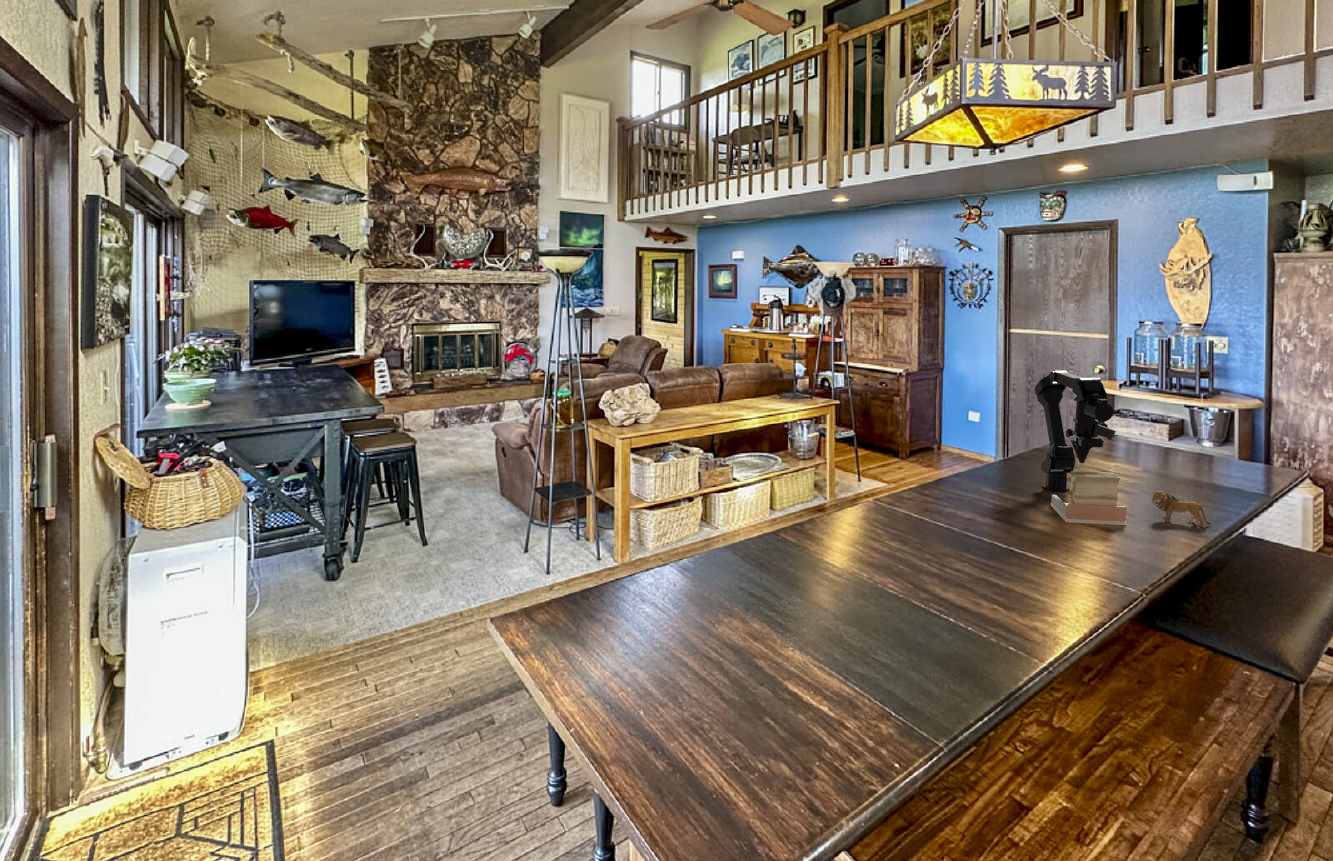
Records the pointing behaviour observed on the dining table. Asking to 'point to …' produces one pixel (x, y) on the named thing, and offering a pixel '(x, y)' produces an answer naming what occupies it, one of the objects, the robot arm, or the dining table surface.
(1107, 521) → the box
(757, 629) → the dining table surface
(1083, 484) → the cream flanged block
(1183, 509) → the lion figurine
